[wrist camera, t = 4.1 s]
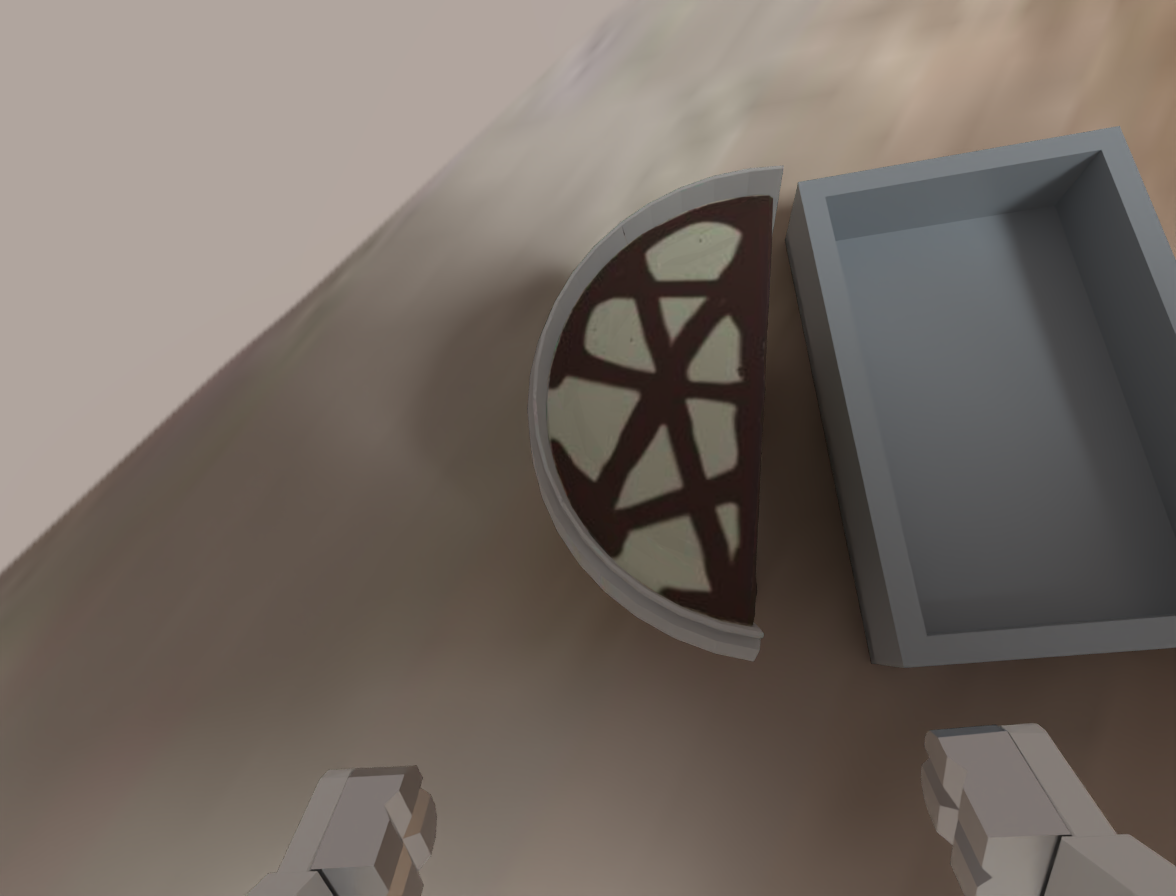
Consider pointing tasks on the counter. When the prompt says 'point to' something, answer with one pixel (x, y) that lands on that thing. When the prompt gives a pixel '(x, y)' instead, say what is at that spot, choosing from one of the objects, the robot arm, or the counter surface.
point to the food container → (664, 408)
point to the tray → (997, 398)
